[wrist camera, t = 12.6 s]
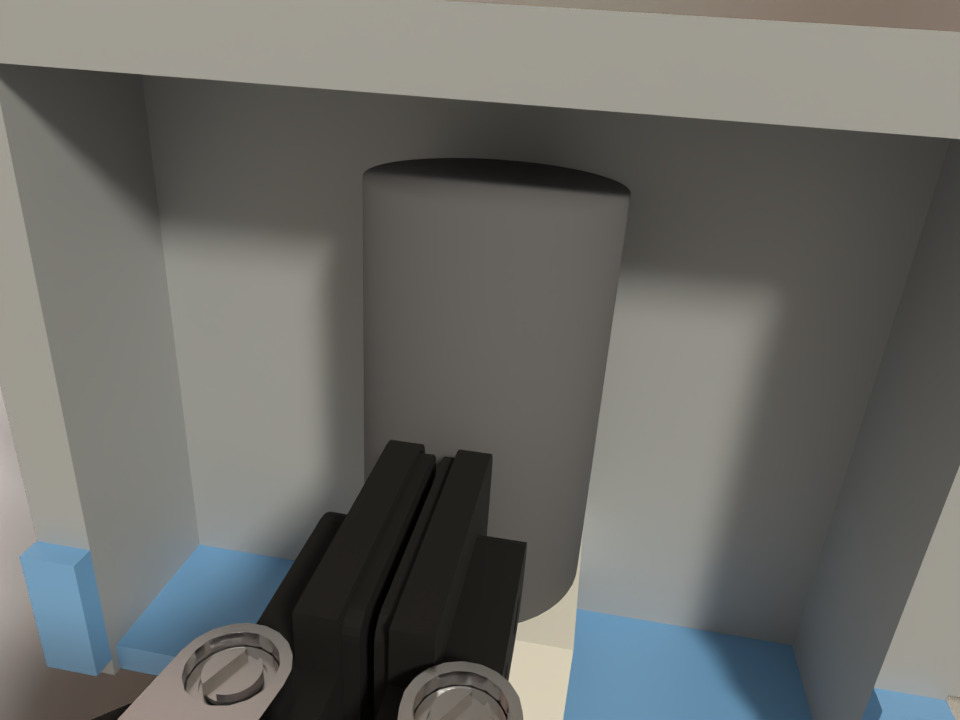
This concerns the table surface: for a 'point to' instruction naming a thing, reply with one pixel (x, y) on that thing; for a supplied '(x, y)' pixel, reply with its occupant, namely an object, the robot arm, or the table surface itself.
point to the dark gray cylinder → (498, 358)
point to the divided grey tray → (632, 349)
